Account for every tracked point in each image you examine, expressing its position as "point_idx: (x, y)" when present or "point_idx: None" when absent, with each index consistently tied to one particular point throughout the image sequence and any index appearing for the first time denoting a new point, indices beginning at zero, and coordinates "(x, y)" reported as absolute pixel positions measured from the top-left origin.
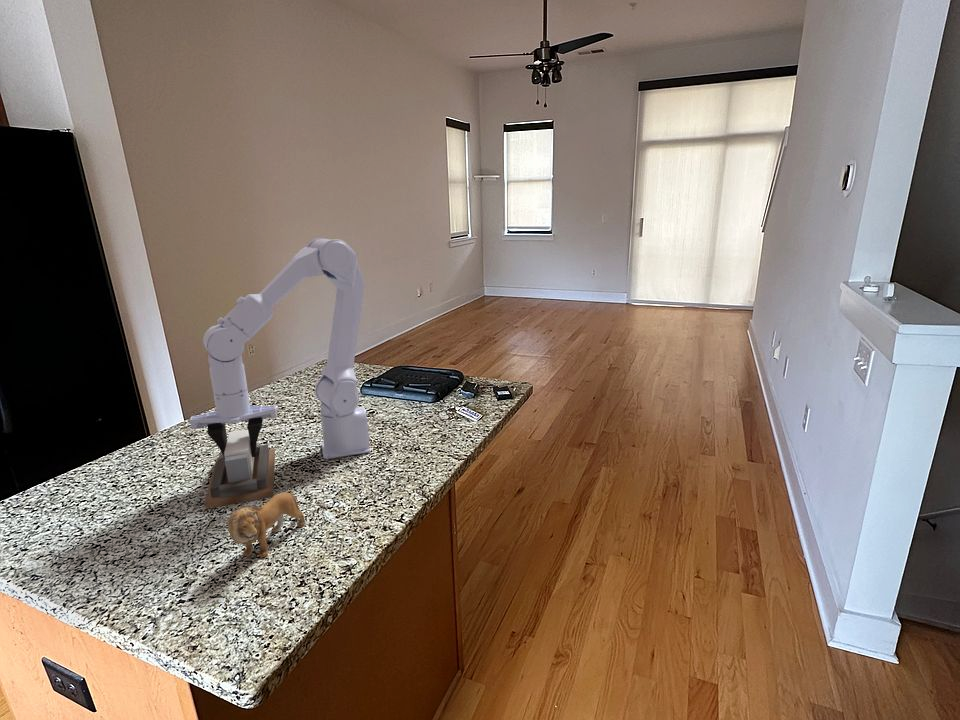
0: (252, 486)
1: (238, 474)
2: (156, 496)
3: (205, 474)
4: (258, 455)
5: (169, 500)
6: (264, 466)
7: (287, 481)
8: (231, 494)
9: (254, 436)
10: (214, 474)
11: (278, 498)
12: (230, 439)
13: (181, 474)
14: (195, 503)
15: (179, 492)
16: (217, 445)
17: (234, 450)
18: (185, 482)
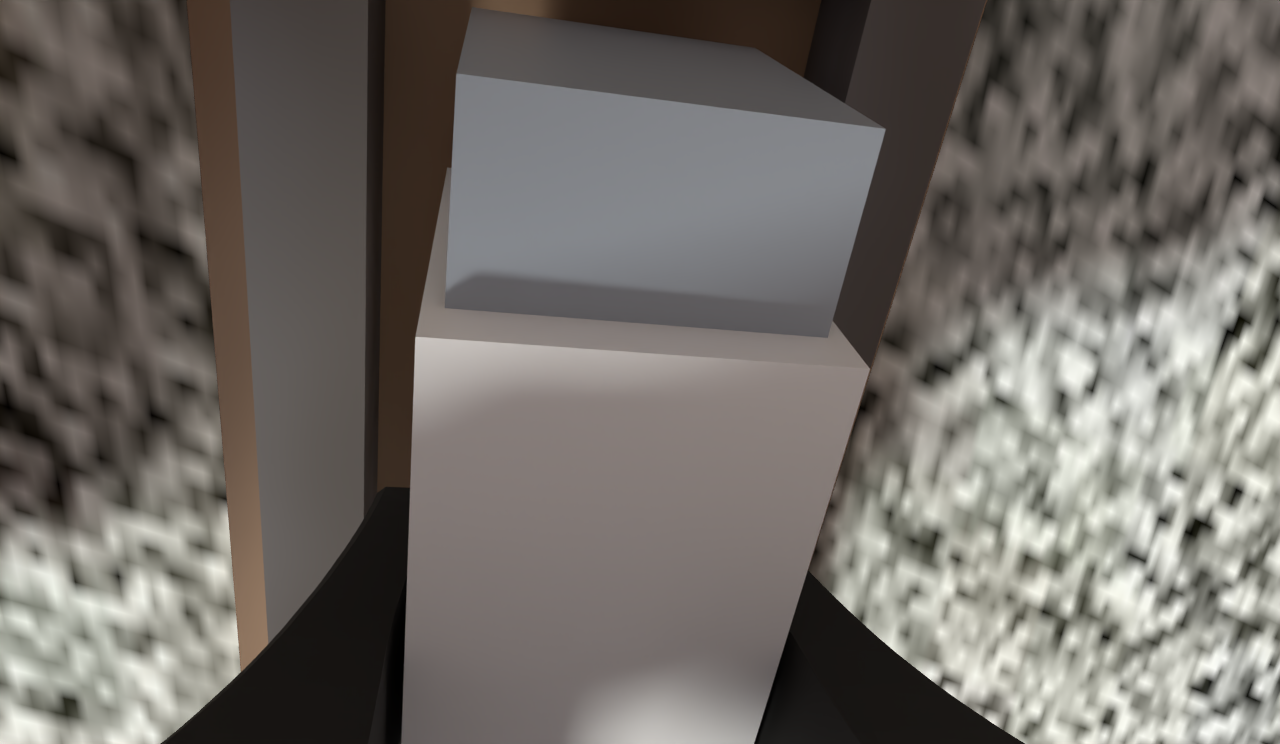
0: None
1: (630, 44)
2: (1246, 359)
3: (853, 563)
4: None
5: (1196, 239)
6: (275, 278)
7: (42, 63)
8: None
9: (268, 713)
10: (873, 334)
11: None
12: None
13: (1003, 623)
14: (1039, 53)
15: (1092, 347)
16: (911, 665)
17: (681, 413)
18: (1010, 495)
